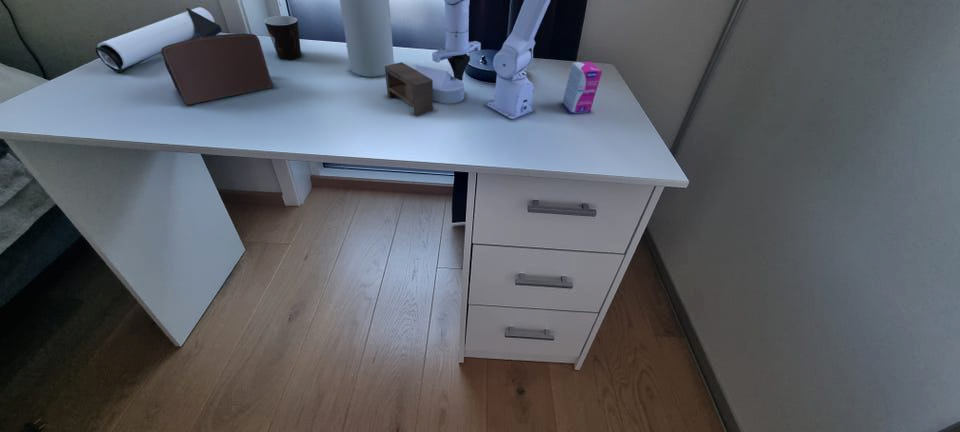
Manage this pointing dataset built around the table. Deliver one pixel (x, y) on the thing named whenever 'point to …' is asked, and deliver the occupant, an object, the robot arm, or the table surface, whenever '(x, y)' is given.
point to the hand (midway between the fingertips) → (457, 82)
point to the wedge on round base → (443, 85)
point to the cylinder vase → (368, 36)
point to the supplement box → (581, 87)
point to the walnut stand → (410, 87)
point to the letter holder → (216, 67)
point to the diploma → (155, 38)
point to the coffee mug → (284, 36)
